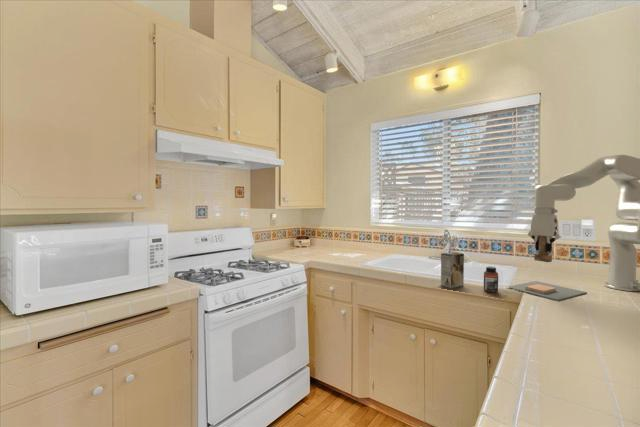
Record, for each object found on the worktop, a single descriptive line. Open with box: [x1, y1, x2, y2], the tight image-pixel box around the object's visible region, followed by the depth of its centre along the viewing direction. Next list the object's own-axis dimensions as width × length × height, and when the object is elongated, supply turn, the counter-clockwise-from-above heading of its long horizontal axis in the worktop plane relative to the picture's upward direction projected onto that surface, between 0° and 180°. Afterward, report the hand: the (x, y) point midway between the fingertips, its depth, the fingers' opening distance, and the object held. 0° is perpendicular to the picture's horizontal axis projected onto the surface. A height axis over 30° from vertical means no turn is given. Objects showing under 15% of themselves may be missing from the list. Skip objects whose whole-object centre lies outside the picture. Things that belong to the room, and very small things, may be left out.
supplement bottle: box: [483, 266, 499, 294], centre depth 149 cm, size 6×6×11 cm
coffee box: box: [440, 251, 465, 289], centre depth 159 cm, size 9×6×16 cm
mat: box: [507, 280, 588, 302], centre depth 150 cm, size 22×24×1 cm
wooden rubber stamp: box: [533, 236, 553, 263], centre depth 149 cm, size 6×4×13 cm, turn 28°
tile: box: [525, 284, 556, 294], centre depth 149 cm, size 8×2×10 cm
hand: (543, 250), depth 150 cm, fingers closed on wooden rubber stamp, 3 cm apart
